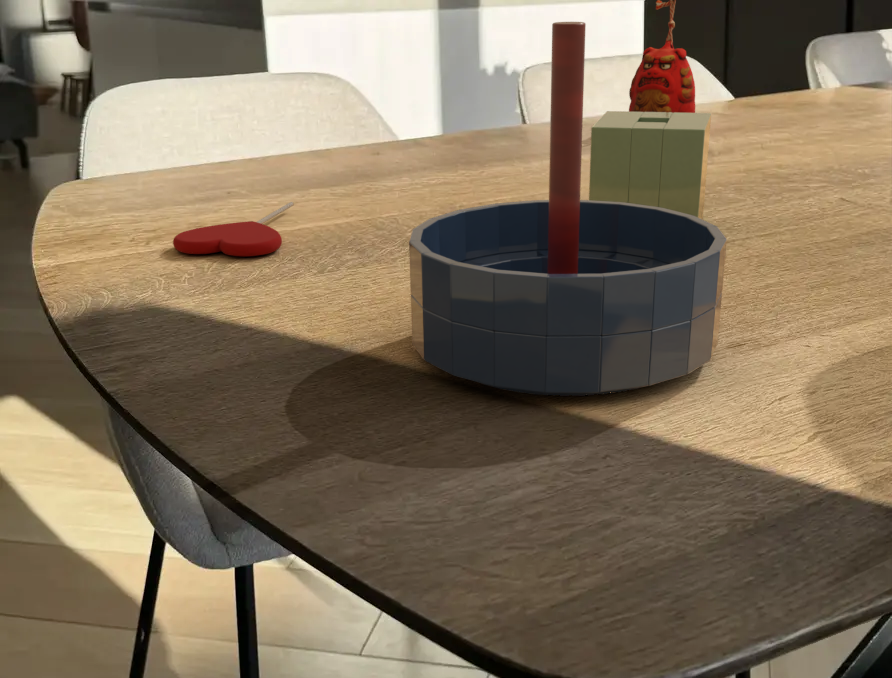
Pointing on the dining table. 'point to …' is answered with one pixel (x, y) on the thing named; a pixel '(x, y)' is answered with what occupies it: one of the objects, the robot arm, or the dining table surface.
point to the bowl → (566, 297)
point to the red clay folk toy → (663, 77)
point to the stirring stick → (565, 146)
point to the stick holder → (651, 159)
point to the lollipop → (232, 238)
